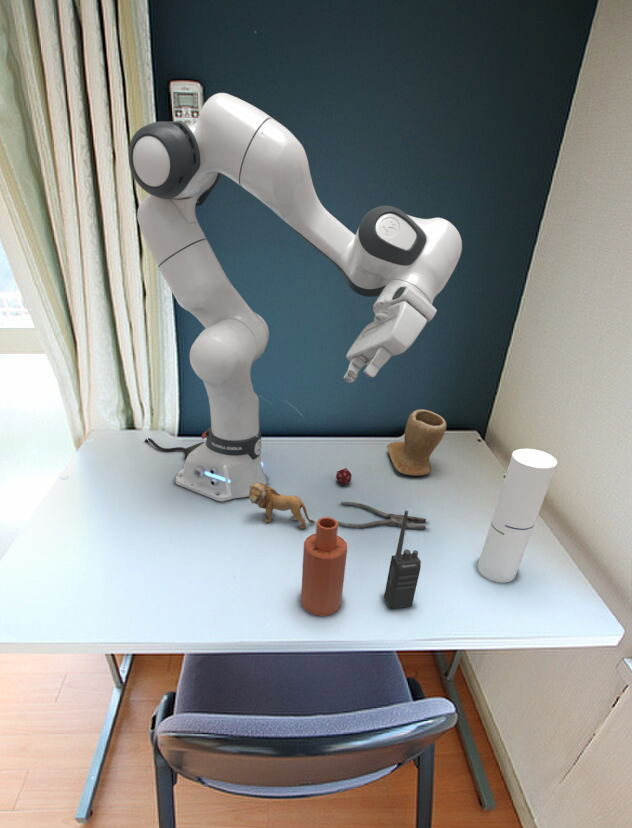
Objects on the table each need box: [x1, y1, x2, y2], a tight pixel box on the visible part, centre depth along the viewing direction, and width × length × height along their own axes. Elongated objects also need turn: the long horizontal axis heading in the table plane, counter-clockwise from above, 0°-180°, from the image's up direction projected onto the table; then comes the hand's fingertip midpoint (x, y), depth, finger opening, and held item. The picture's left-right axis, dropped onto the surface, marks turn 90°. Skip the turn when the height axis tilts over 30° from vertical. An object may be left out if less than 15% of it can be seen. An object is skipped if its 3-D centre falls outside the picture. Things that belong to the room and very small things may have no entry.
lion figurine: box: [248, 483, 315, 530], centre depth 111 cm, size 15×5×9 cm, turn 81°
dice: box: [335, 467, 352, 486], centre depth 127 cm, size 4×4×4 cm
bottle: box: [300, 516, 348, 617], centre depth 88 cm, size 7×7×18 cm
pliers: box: [336, 501, 427, 530], centre depth 116 cm, size 10×1×20 cm
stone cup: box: [386, 408, 447, 477], centre depth 133 cm, size 15×12×15 cm
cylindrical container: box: [477, 448, 558, 584], centre depth 94 cm, size 7×7×25 cm
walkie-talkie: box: [383, 509, 422, 610], centre depth 88 cm, size 5×3×20 cm
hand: (357, 378), depth 90 cm, fingers open, 8 cm apart
